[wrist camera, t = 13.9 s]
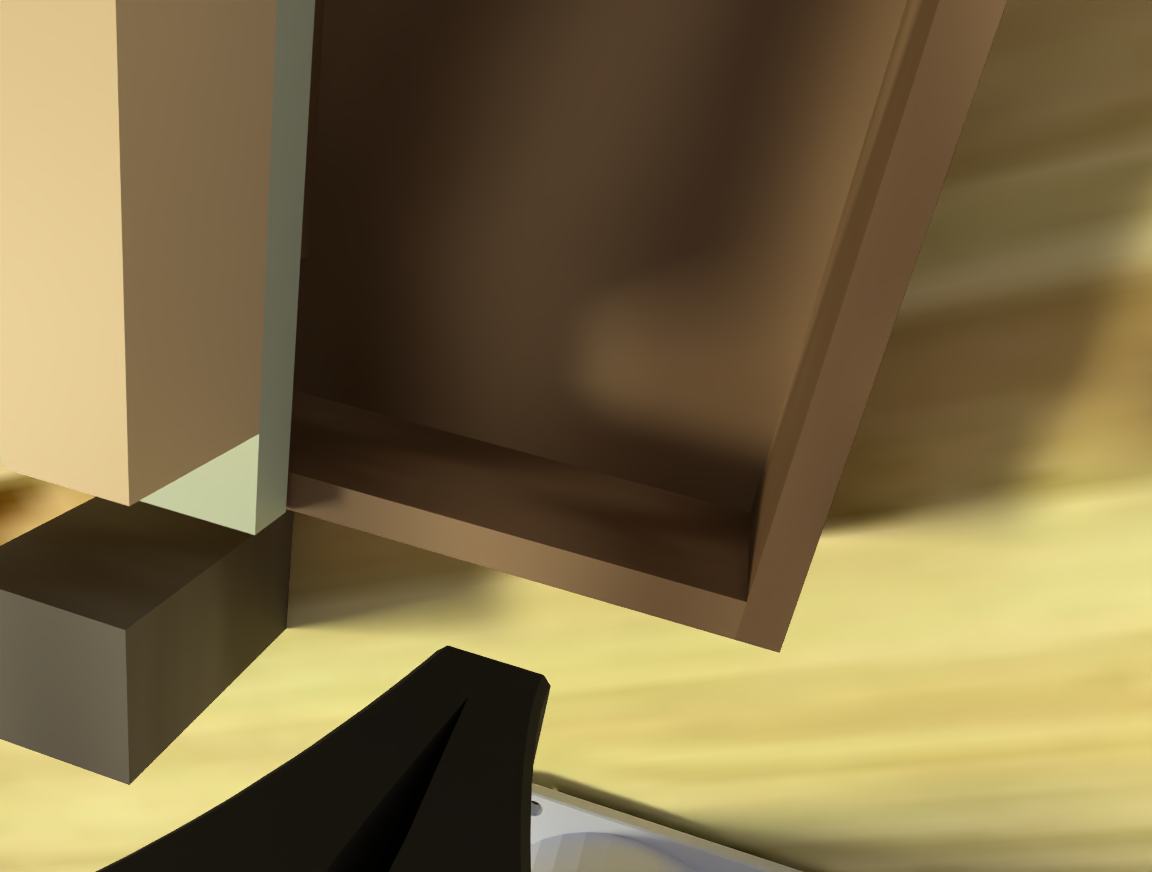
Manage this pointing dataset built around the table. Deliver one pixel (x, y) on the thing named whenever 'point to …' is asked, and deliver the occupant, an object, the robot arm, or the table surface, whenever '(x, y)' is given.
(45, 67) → the lid
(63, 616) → the dark brown block
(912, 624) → the table surface
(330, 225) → the brown wooden box
